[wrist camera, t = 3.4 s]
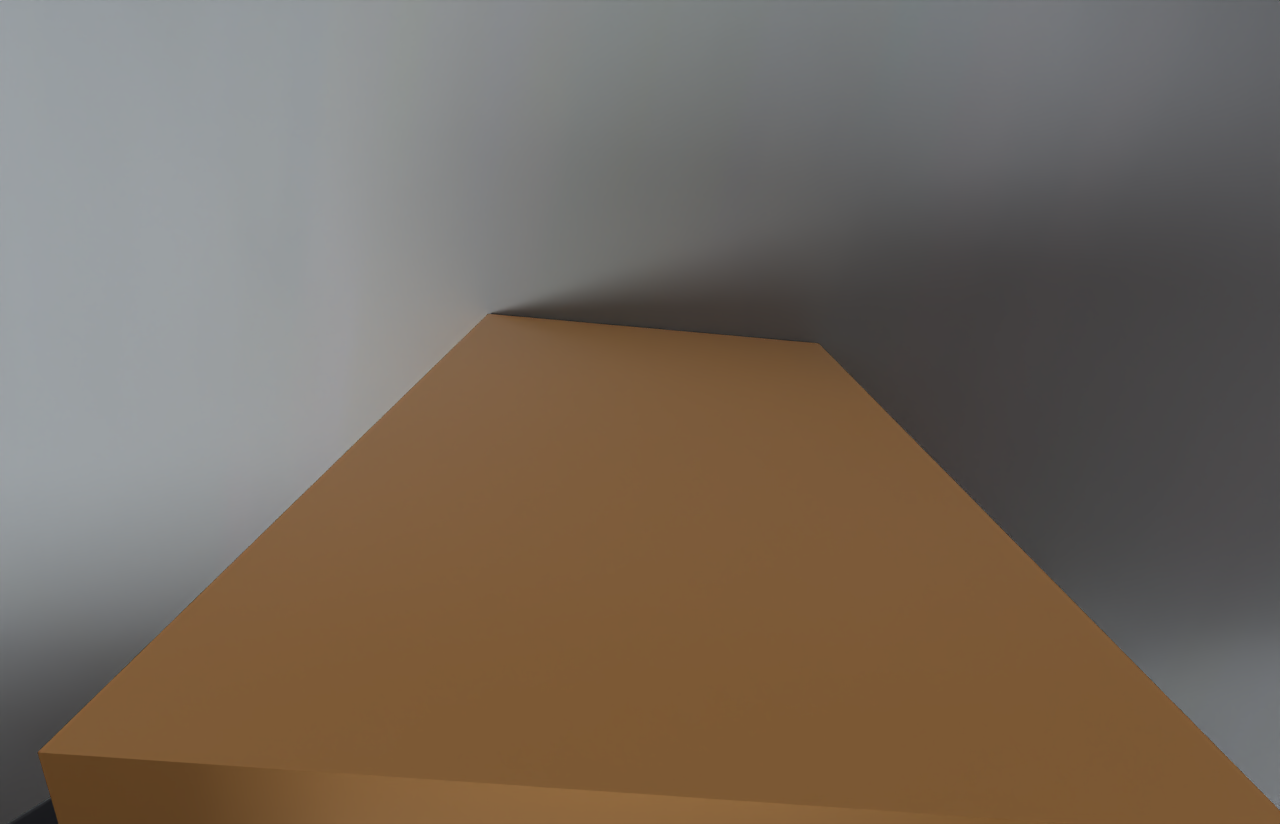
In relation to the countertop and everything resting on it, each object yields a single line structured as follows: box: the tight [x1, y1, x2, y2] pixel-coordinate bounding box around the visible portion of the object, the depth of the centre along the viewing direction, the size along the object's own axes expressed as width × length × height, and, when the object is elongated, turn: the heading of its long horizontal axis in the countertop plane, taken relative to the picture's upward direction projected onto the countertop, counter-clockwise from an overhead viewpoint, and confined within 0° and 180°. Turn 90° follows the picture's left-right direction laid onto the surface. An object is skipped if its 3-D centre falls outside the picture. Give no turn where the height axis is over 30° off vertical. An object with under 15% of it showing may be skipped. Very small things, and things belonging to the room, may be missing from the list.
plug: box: [38, 314, 1280, 824], centre depth 7 cm, size 4×9×7 cm, turn 175°
